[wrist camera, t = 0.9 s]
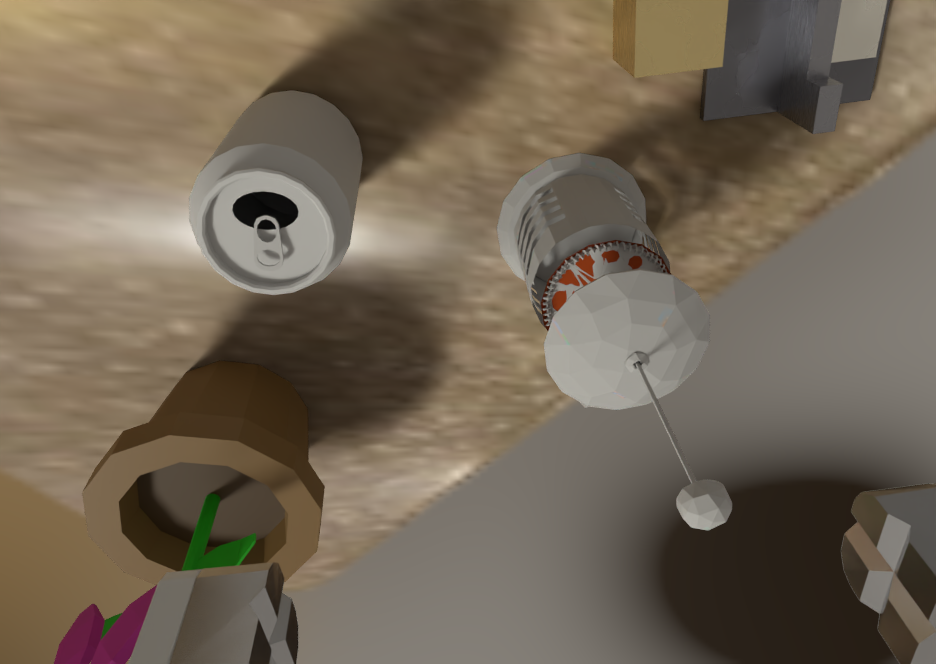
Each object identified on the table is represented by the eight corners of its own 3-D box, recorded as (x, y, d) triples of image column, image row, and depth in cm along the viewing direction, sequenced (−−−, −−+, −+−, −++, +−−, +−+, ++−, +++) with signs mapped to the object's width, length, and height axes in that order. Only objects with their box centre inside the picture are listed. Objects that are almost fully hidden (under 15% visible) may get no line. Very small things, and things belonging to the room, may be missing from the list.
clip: (613, -18, 38) (636, -7, 34) (697, -29, 38) (730, -19, 34) (613, 59, 40) (634, 77, 36) (692, 49, 40) (722, 66, 36)
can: (361, 88, 40) (345, 157, 30) (365, 211, 44) (353, 309, 34) (226, 84, 39) (163, 154, 29) (242, 209, 43) (193, 309, 33)
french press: (658, 152, 43) (894, 407, 22) (631, 313, 50) (796, 631, 29) (500, 153, 43) (589, 417, 22) (492, 317, 49) (557, 645, 28)
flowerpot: (240, 298, 47) (45, 788, 22) (376, 429, 54) (348, 916, 28) (92, 403, 50) (-223, 926, 25) (237, 513, 57) (103, 1010, 32)
